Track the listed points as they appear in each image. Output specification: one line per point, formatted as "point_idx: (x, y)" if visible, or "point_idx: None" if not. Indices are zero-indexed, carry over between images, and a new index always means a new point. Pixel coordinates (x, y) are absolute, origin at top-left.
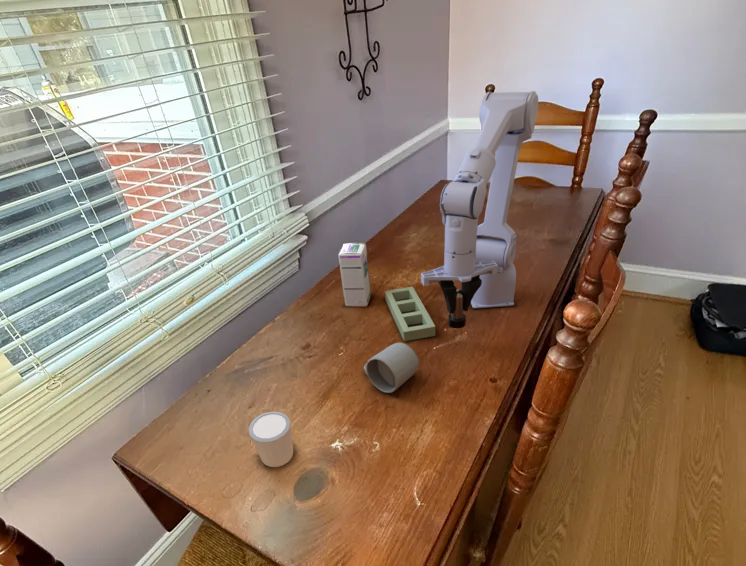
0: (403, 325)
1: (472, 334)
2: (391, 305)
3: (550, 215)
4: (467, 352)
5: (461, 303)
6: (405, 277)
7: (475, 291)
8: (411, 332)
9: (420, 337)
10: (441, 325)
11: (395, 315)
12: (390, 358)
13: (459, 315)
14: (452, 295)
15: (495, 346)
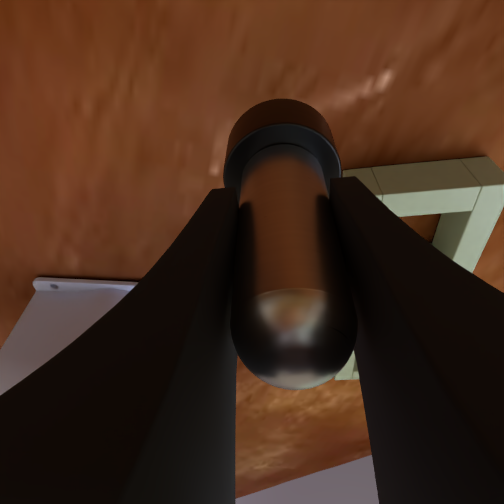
0: (483, 226)
1: (188, 153)
2: None
3: None
4: (234, 5)
5: (269, 236)
6: (321, 398)
7: (84, 342)
8: (470, 180)
9: (412, 166)
10: None
11: None
12: None
13: (280, 161)
14: (455, 322)
15: (85, 37)
